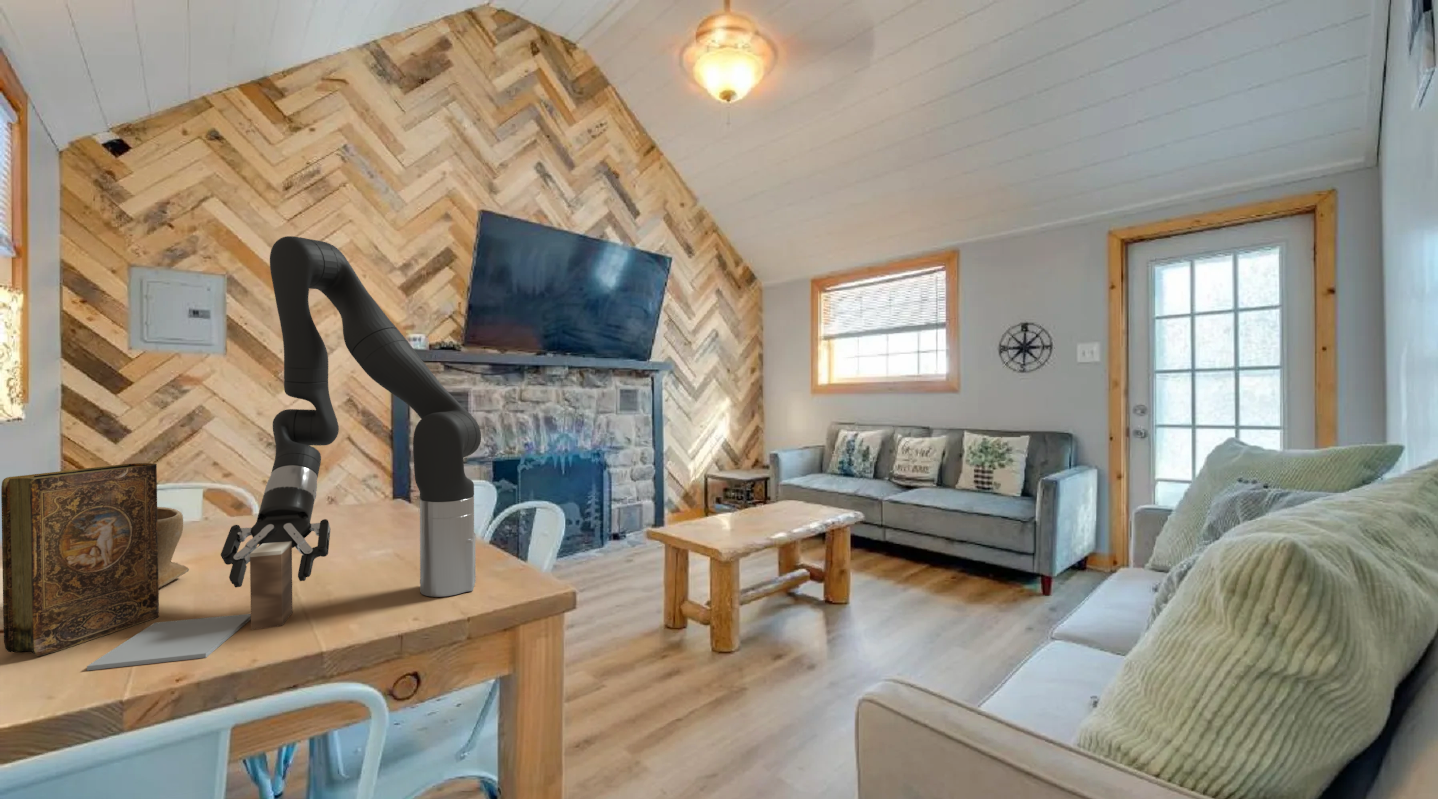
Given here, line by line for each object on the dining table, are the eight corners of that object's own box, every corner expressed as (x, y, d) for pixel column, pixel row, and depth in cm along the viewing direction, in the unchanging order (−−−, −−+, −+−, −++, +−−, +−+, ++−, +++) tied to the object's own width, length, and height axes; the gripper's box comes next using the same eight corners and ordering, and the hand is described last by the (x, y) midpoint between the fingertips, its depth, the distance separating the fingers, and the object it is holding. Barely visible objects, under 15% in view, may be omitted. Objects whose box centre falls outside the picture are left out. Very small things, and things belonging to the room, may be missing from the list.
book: (140, 611, 99) (137, 462, 98) (166, 614, 98) (163, 463, 97) (3, 655, 83) (-1, 477, 82) (33, 659, 82) (29, 479, 81)
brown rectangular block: (292, 612, 99) (291, 541, 99) (281, 625, 94) (281, 550, 93) (263, 615, 98) (262, 543, 97) (250, 629, 92) (250, 553, 92)
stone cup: (156, 601, 104) (154, 516, 103) (74, 606, 101) (72, 518, 101) (210, 573, 119) (209, 499, 118) (139, 577, 116) (138, 501, 116)
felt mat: (253, 617, 97) (253, 613, 97) (206, 657, 83) (205, 653, 83) (154, 626, 93) (154, 622, 93) (87, 670, 79) (86, 666, 79)
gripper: (234, 487, 100) (206, 575, 89) (333, 482, 105) (318, 565, 95) (245, 512, 105) (220, 598, 94) (339, 506, 110) (326, 587, 100)
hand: (269, 581), depth 95 cm, fingers open, 8 cm apart
